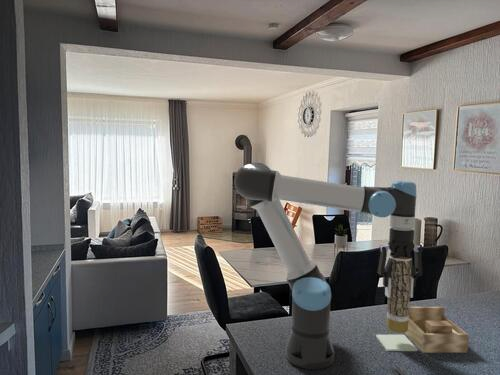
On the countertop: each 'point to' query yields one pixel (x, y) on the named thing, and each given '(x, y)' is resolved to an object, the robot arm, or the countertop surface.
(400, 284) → the wooden log
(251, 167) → the robot arm
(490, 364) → the countertop surface
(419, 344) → the wooden open box
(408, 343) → the felt mat
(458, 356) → the countertop surface
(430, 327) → the offcut stack
